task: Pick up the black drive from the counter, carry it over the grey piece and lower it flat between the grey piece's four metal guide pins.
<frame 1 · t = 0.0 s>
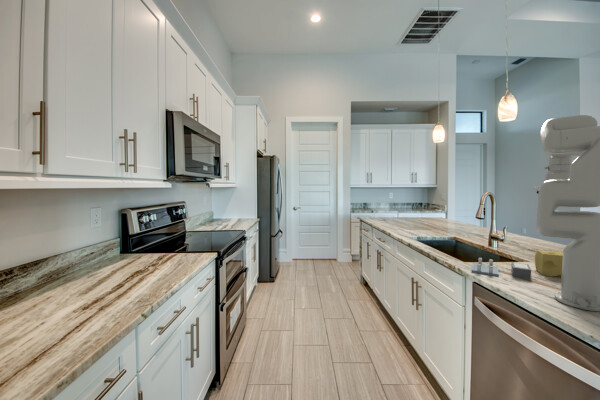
hand: (557, 205, 123), 31 cm above the worktop, tool pointing down, fingers open, 9 cm apart
drive: (520, 275, 117), on the worktop
cheese: (552, 274, 118), on the worktop
grey piece: (485, 270, 124), on the worktop
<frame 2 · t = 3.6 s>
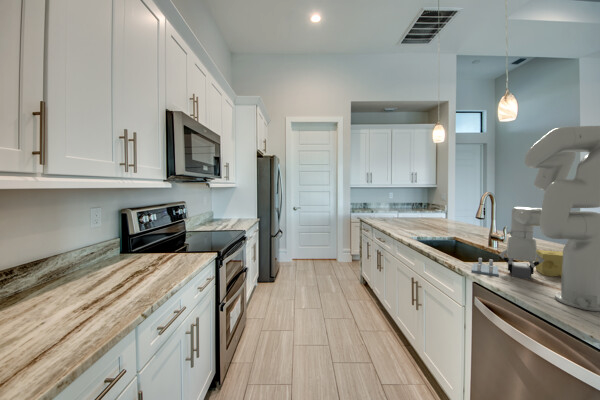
hand: (520, 273, 117), 1 cm above the worktop, tool pointing down, fingers closed on drive, 6 cm apart
drive: (520, 275, 117), on the worktop, touching gripper
everything else where it was.
when the fingers open (3 cm above the worktop, at t = 9.5 s): drive stays where it is, resting on grey piece.
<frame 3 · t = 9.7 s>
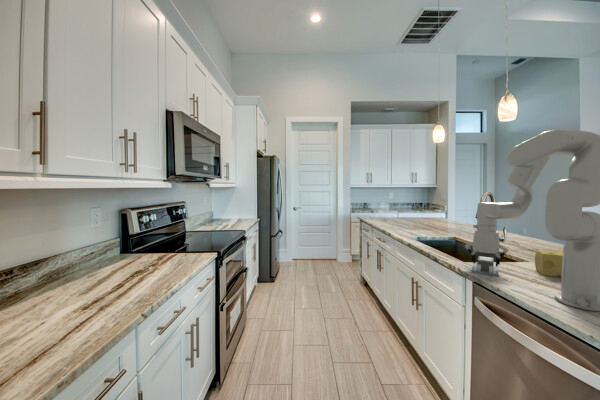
hand: (485, 264, 123), 3 cm above the worktop, tool pointing down, fingers open, 8 cm apart
drive: (485, 268, 123), point 1 cm above the worktop, touching grey piece
everything else where it was.
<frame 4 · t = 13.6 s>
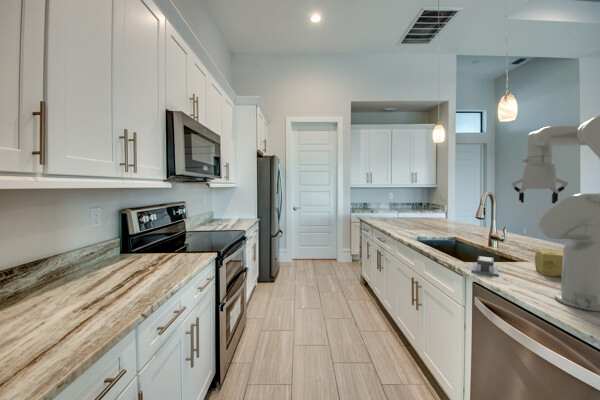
hand: (537, 202, 107), 33 cm above the worktop, tool pointing down, fingers open, 9 cm apart
nothing on the worktop moved.
at the end: drive 0.1 cm off-centre on the grey piece, point 1.0 cm above the grey piece's base; drive tilted 0°; the gripper is holding nothing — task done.
